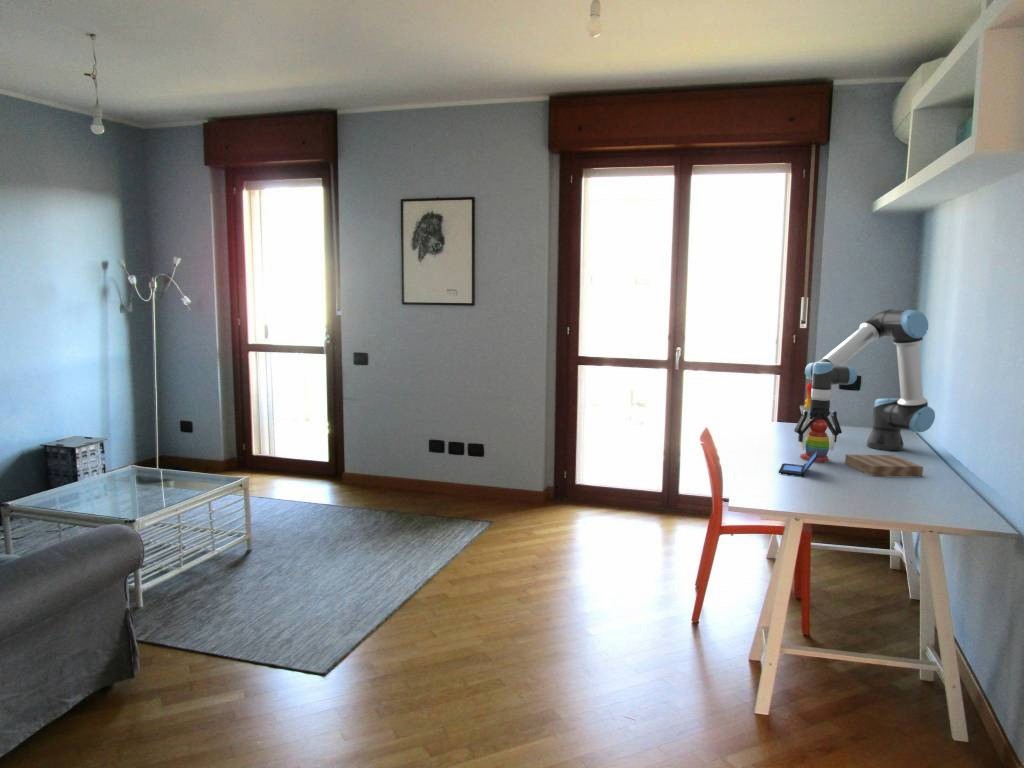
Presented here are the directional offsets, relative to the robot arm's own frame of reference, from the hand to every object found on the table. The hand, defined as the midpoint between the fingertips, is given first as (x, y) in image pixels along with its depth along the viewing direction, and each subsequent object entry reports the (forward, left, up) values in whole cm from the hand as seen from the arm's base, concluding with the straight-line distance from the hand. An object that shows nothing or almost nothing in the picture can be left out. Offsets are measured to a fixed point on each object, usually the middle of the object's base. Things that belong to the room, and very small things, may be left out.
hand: (816, 449), depth 298 cm
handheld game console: (+17, +21, -5) cm, 28 cm away
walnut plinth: (-19, +17, -4) cm, 26 cm away
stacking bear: (0, 0, -5) cm, 5 cm away
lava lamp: (-21, -52, -5) cm, 56 cm away
